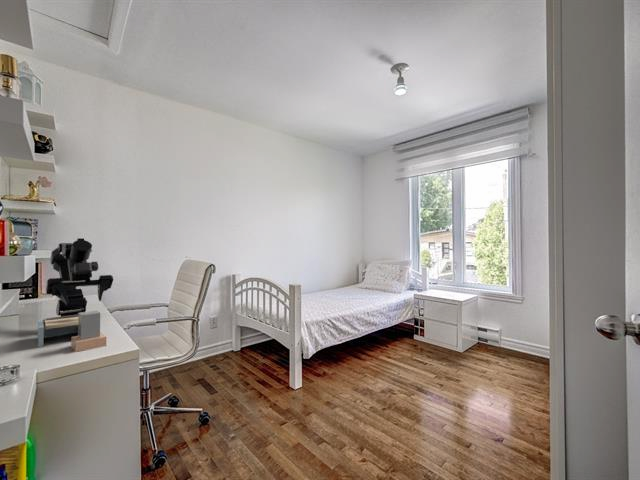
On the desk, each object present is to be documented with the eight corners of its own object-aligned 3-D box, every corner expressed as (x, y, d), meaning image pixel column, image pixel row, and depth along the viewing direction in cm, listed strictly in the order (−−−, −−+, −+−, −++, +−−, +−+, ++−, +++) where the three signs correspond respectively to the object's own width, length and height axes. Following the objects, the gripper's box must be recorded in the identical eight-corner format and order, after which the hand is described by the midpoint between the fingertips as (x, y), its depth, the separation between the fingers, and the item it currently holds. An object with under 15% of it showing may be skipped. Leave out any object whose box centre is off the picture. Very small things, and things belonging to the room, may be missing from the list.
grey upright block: (77, 337, 99) (78, 313, 99) (96, 333, 102) (96, 310, 102) (81, 340, 95) (81, 315, 95) (99, 336, 99) (100, 312, 99)
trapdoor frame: (37, 337, 107) (38, 319, 108) (90, 329, 118) (91, 313, 118) (38, 347, 97) (38, 327, 97) (96, 337, 107) (97, 319, 108)
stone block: (71, 346, 98) (71, 337, 98) (100, 340, 104) (100, 331, 104) (75, 351, 93) (75, 342, 93) (106, 345, 99) (106, 336, 99)
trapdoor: (43, 323, 107) (43, 318, 107) (87, 317, 116) (87, 313, 116) (44, 330, 99) (44, 325, 99) (91, 323, 107) (91, 318, 107)
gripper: (47, 255, 101) (51, 290, 94) (112, 254, 115) (120, 285, 108) (44, 276, 106) (47, 311, 99) (106, 273, 120) (113, 303, 113)
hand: (84, 302), depth 104 cm, fingers open, 9 cm apart
